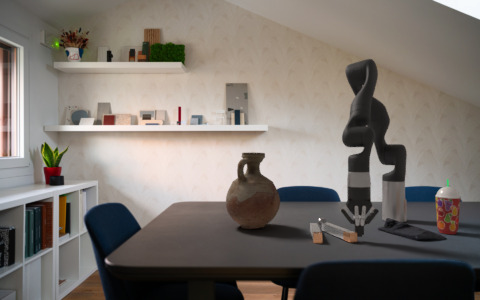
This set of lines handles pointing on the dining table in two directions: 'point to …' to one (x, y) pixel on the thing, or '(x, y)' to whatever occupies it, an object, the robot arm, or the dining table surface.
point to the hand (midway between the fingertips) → (359, 236)
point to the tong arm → (339, 232)
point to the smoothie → (447, 209)
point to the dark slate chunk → (409, 231)
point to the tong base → (317, 230)
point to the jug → (252, 194)
